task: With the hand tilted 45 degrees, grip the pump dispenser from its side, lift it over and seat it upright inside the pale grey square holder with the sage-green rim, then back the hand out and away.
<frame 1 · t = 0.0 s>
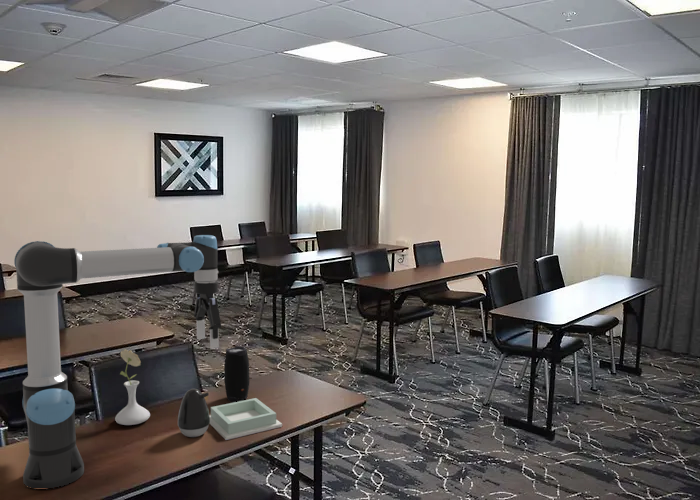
hand: (207, 343, 197), 28 cm above the table, tool pointing down, fingers open, 13 cm apart
holder: (243, 422, 200), on the table
flower in vase: (131, 421, 201), on the table
portable speaker: (237, 399, 223), on the table
pump dispenser: (194, 434, 191), on the table
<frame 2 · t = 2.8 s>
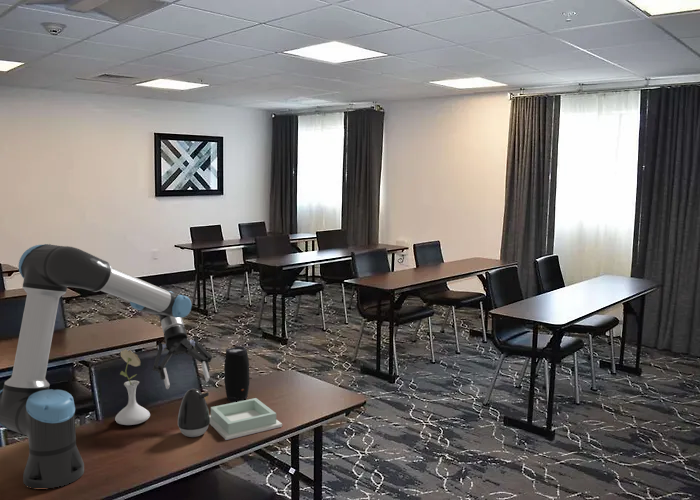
hand: (188, 383, 196), 15 cm above the table, tool tilted 45°, fingers open, 13 cm apart
nothing on the table moved.
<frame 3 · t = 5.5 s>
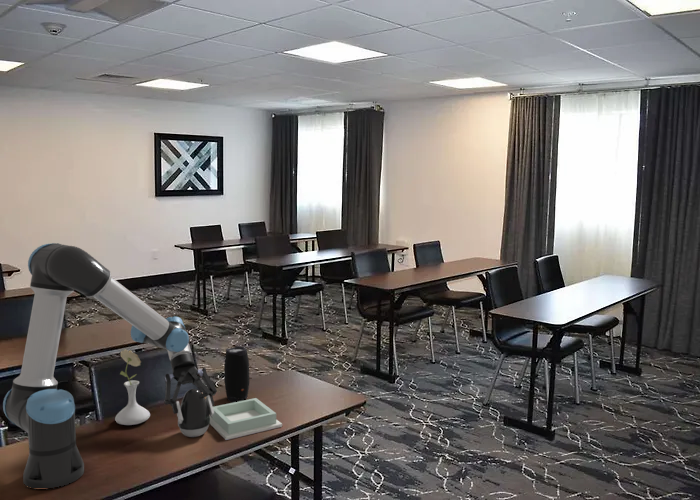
hand: (197, 418, 187), 6 cm above the table, tool tilted 45°, fingers closed on pump dispenser, 9 cm apart
pump dispenser: (194, 434, 191), on the table, touching gripper
everything else where it was.
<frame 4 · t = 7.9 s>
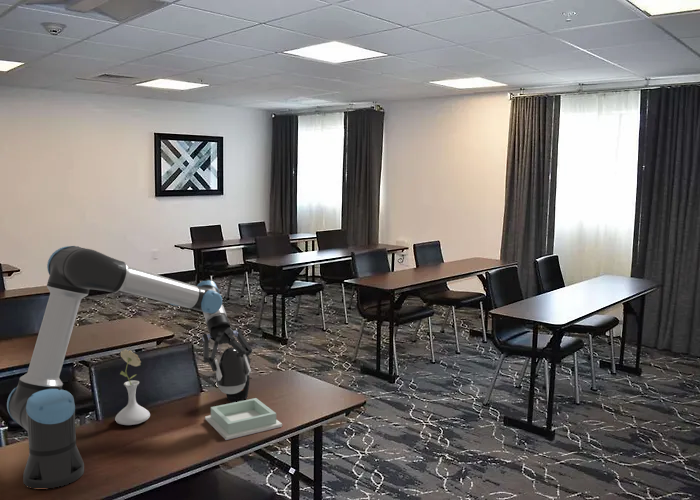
hand: (234, 375, 194), 18 cm above the table, tool tilted 45°, fingers closed on pump dispenser, 9 cm apart
pump dispenser: (232, 392, 197), point 12 cm above the table, touching gripper
everything else where it was.
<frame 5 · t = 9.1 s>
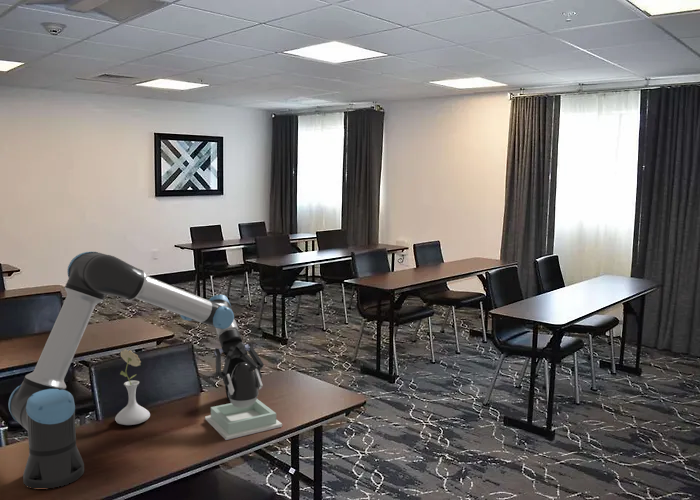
hand: (246, 390, 196), 13 cm above the table, tool tilted 45°, fingers closed on pump dispenser, 9 cm apart
pump dispenser: (243, 405, 200), point 6 cm above the table, touching gripper
everything else where it was.
when the fingers open (9 cm above the table, at t = 10.2 s): pump dispenser drops 1 cm, resting on holder.
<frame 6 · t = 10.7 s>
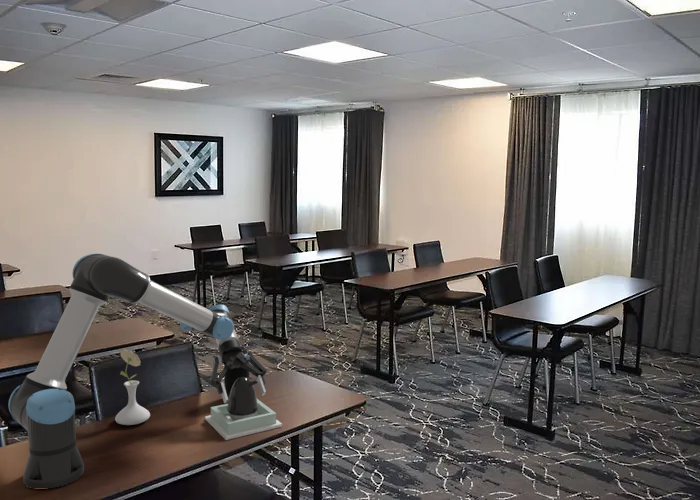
hand: (245, 397, 197), 10 cm above the table, tool tilted 45°, fingers open, 13 cm apart
pump dispenser: (242, 420, 200), point 1 cm above the table, touching holder
everything else where it was.
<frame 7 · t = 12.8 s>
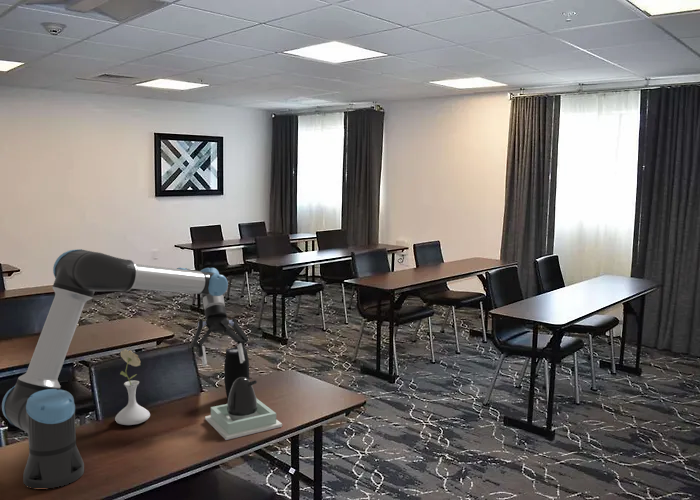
hand: (224, 363, 202), 20 cm above the table, tool tilted 35°, fingers open, 13 cm apart
nothing on the table moved.
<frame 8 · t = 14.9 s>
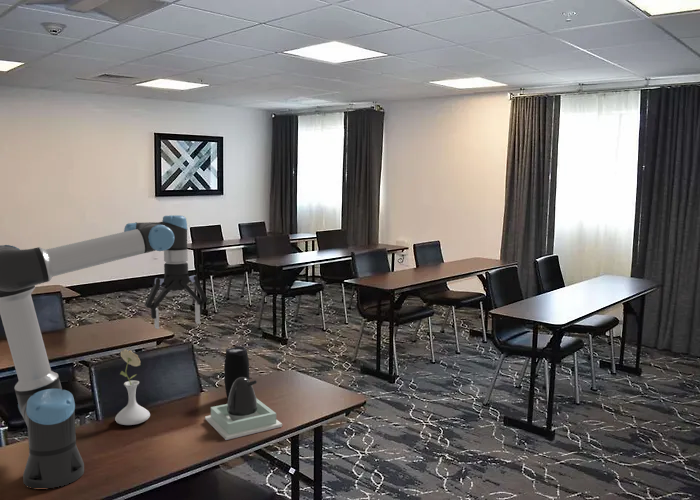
hand: (177, 325, 193), 35 cm above the table, tool pointing down, fingers open, 13 cm apart
nothing on the table moved.
at the end: pump dispenser inside the target area on the holder (0.1 cm from its centre), point 0.8 cm above the holder's base; pump dispenser tilted 0°; the gripper is holding nothing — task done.
